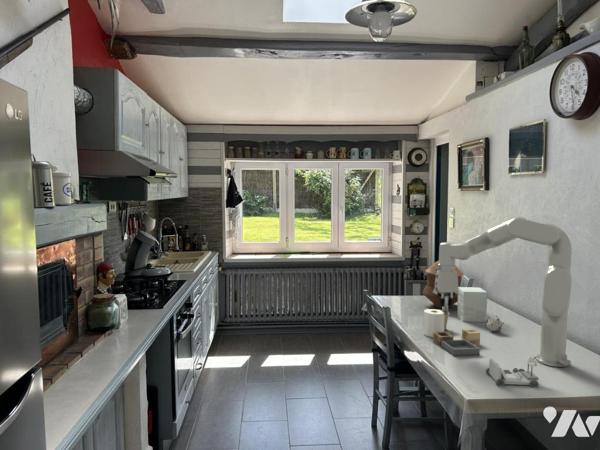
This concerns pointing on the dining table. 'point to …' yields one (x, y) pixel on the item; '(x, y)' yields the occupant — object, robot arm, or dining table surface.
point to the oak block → (471, 336)
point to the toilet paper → (433, 321)
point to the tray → (460, 347)
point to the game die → (494, 324)
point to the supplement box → (472, 304)
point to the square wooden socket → (441, 337)
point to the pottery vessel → (431, 285)
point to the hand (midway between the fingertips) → (445, 305)
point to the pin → (446, 303)
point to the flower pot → (446, 319)
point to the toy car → (513, 374)
